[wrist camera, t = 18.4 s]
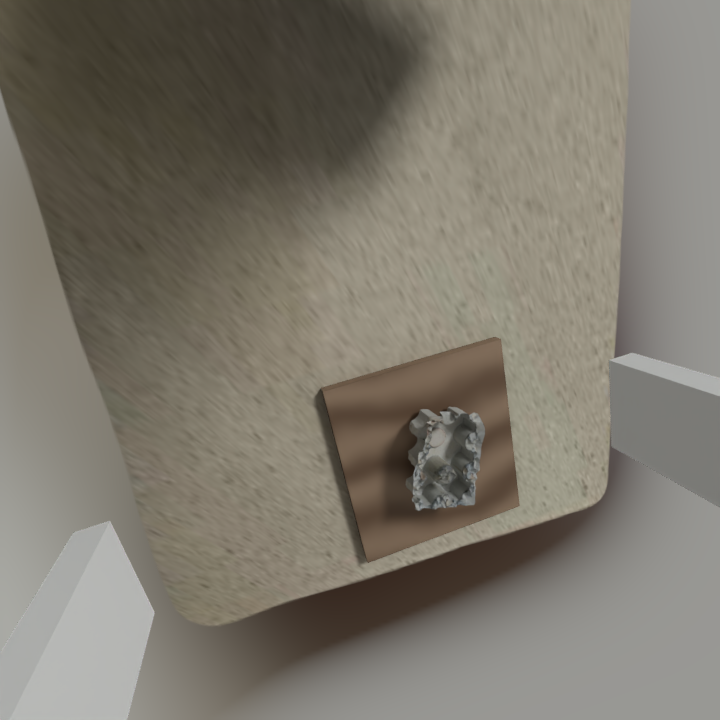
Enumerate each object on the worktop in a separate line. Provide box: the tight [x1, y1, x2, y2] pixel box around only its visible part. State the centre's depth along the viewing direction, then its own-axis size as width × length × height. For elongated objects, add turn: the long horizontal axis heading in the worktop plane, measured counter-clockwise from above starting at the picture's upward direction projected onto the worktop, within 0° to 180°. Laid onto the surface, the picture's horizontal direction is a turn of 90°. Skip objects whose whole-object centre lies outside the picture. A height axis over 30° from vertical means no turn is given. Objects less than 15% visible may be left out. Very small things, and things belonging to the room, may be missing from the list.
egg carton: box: [406, 407, 485, 511], centre depth 45 cm, size 11×8×4 cm
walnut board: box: [321, 337, 519, 563], centre depth 48 cm, size 22×20×1 cm
